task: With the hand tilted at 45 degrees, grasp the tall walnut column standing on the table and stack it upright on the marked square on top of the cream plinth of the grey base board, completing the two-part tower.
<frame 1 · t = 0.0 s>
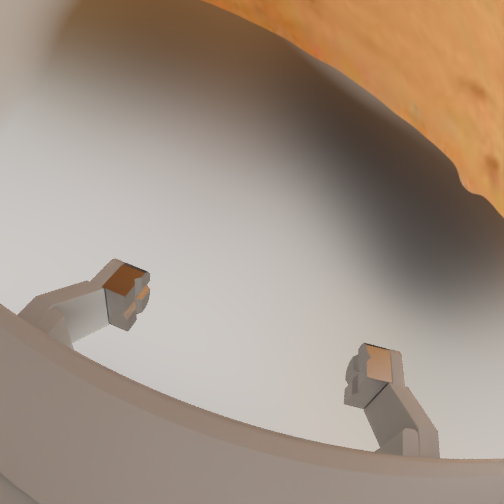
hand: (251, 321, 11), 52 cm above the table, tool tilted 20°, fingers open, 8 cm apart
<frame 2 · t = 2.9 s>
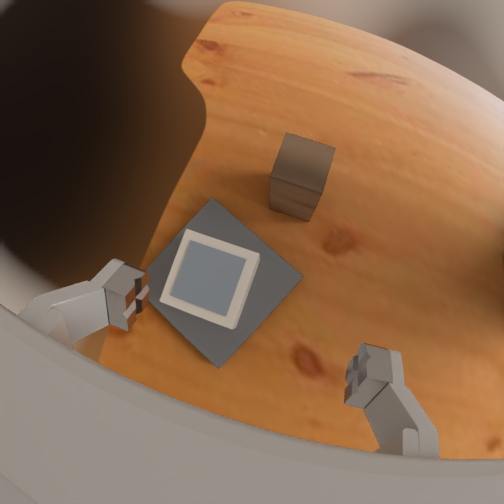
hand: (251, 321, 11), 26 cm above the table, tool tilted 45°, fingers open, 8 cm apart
walnut column: (295, 196, 39), on the table
base board: (216, 282, 38), on the table
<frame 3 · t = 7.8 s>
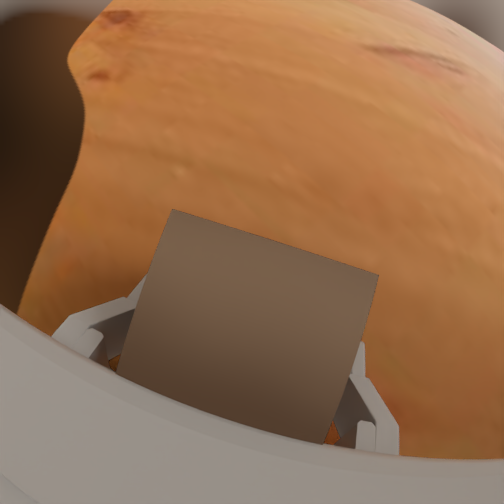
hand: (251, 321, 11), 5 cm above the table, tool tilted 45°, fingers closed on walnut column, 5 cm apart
walnut column: (250, 331, 16), on the table, touching gripper
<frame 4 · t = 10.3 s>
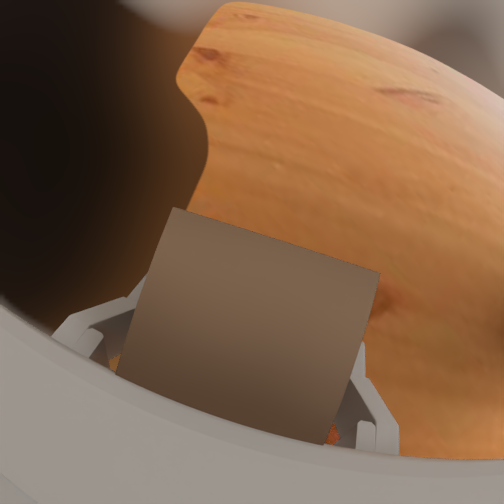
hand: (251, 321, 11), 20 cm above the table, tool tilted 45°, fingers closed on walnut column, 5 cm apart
walnut column: (250, 331, 16), point 15 cm above the table, touching gripper
when the fingers open (13 cm above the table, at t = 12.7 s): walnut column drops 1 cm, resting on base board.
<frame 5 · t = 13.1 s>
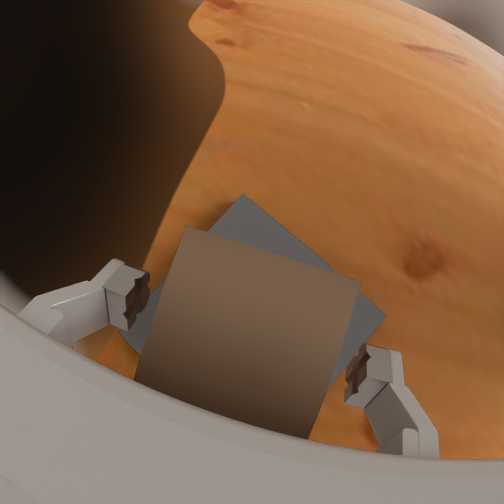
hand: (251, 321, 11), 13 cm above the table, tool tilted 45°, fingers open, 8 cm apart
walnut column: (251, 330, 18), point 6 cm above the table, touching base board
base board: (251, 328, 23), on the table
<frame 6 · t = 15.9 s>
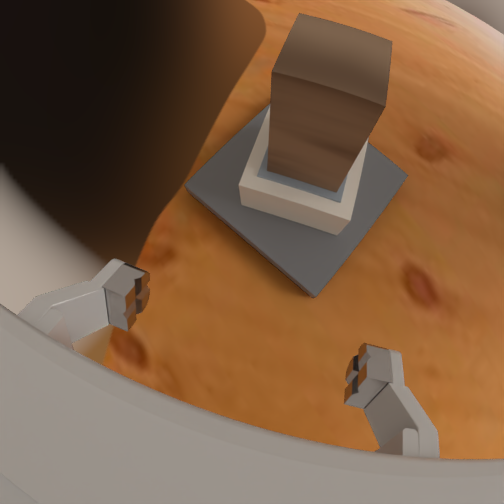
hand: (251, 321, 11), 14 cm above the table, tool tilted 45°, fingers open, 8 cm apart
walnut column: (310, 151, 22), point 6 cm above the table, touching base board
base board: (300, 183, 28), on the table
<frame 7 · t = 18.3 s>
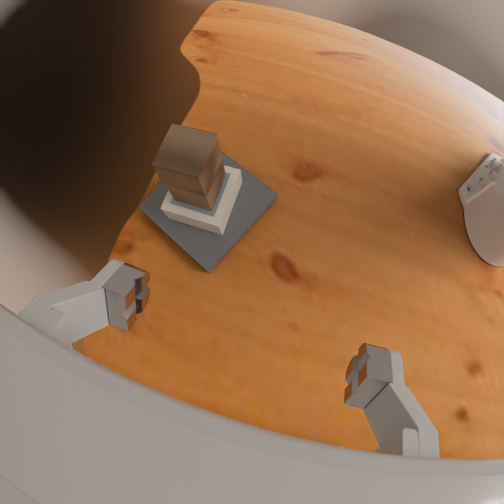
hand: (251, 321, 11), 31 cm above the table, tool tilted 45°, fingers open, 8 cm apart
walnut column: (200, 187, 40), point 6 cm above the table, touching base board
base board: (206, 203, 45), on the table
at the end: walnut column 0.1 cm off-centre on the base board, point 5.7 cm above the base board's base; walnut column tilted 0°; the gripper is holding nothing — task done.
